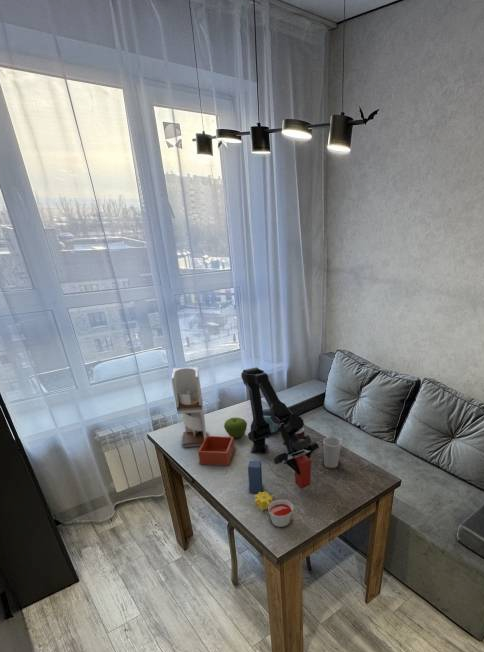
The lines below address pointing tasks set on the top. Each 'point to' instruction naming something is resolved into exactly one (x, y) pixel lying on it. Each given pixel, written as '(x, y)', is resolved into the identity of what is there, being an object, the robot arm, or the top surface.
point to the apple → (235, 427)
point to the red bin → (216, 450)
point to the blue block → (255, 476)
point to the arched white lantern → (189, 404)
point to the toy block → (263, 500)
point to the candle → (280, 512)
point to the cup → (331, 451)
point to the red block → (303, 471)
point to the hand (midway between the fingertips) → (304, 472)
